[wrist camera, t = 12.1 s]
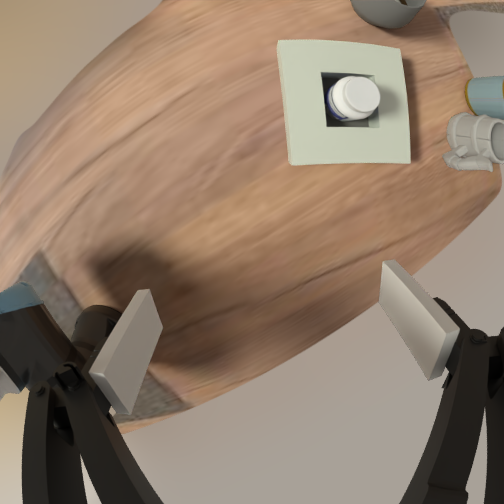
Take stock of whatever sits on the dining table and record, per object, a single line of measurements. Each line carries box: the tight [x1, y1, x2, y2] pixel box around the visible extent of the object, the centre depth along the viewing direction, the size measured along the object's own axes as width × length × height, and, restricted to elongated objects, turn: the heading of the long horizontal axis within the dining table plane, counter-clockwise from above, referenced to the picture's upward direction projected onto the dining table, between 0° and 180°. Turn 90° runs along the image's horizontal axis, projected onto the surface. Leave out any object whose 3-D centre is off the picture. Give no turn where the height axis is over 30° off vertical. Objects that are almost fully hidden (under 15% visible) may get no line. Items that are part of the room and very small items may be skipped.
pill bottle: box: [324, 76, 380, 122], centre depth 27 cm, size 5×5×9 cm
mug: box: [442, 112, 504, 172], centre depth 27 cm, size 8×12×12 cm, turn 133°
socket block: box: [277, 40, 410, 165], centre depth 30 cm, size 16×16×4 cm
